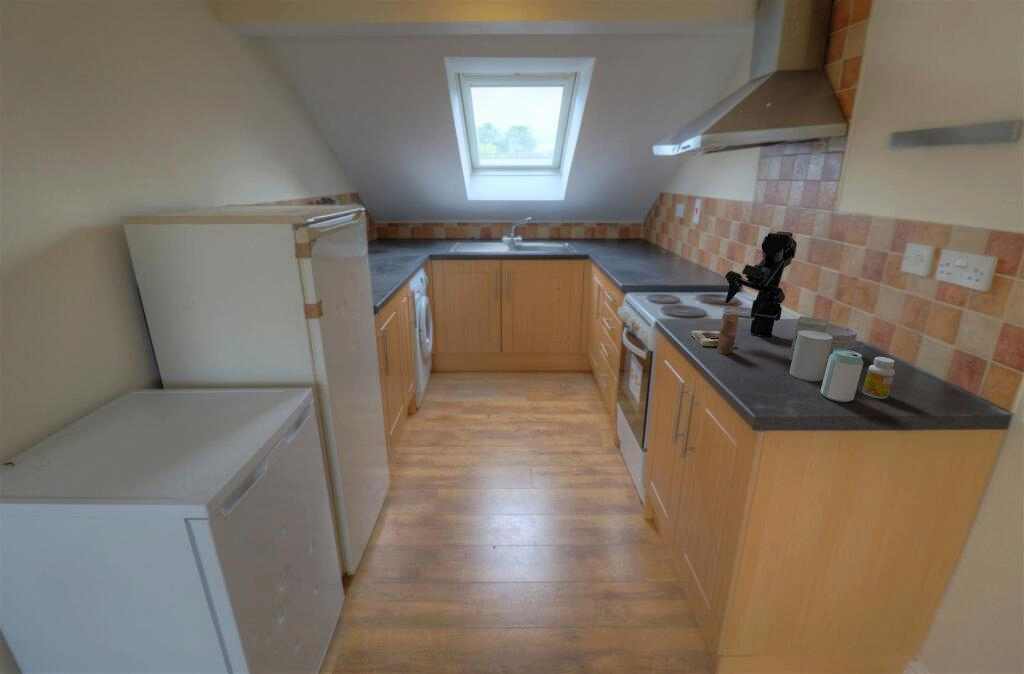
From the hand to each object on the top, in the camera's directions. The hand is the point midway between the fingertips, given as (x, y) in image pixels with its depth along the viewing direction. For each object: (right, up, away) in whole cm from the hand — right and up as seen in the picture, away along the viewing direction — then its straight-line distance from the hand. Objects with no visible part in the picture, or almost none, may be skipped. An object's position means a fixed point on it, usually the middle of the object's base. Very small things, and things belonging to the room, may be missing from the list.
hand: (738, 307), depth 153 cm
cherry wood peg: (-6, -14, -3) cm, 16 cm away
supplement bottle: (+20, -25, -31) cm, 45 cm away
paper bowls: (+27, -14, -1) cm, 31 cm away
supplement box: (+16, -17, -8) cm, 24 cm away
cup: (+9, -20, -20) cm, 30 cm away
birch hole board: (-6, -11, +7) cm, 14 cm away
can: (+9, -25, -33) cm, 43 cm away
